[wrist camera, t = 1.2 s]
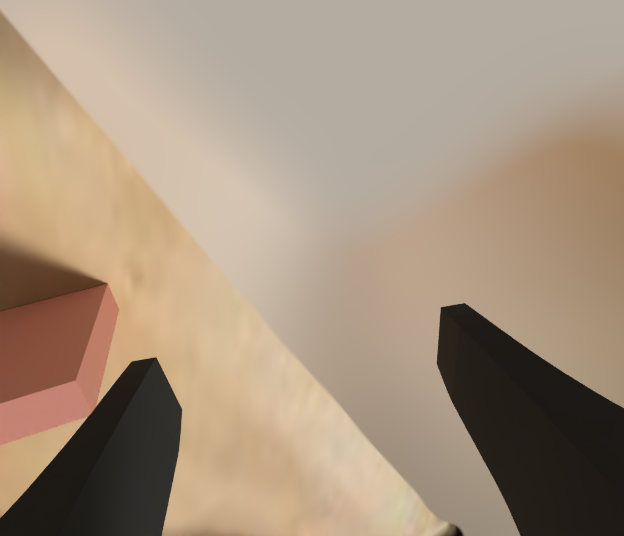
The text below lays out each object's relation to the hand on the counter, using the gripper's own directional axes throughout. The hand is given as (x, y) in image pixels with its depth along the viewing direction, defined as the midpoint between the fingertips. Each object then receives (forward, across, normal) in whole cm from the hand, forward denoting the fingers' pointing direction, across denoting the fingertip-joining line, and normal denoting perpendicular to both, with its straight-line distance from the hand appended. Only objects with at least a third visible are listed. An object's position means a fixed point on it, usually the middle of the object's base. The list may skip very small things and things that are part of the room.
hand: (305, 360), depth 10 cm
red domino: (+10, +12, +4) cm, 16 cm away
